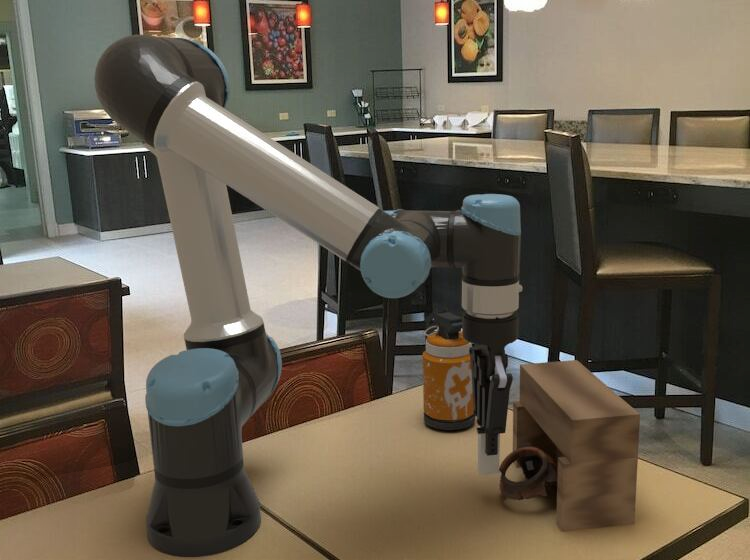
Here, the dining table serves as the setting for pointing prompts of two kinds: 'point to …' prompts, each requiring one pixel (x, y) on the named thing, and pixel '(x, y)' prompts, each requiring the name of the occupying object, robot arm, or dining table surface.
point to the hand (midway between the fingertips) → (488, 471)
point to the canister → (447, 374)
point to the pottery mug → (528, 473)
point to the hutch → (581, 442)
